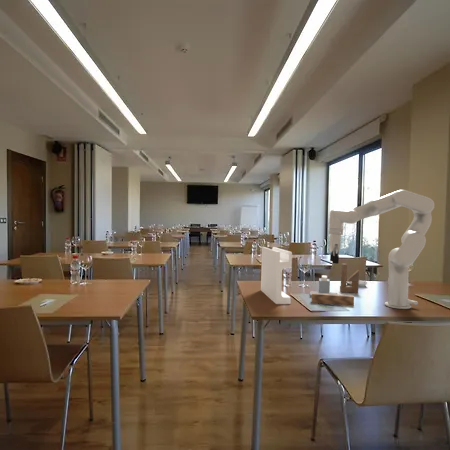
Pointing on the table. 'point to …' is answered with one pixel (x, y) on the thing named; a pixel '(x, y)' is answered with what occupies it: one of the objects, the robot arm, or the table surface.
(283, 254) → the block
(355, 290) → the wooden angled stand
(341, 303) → the walnut beam
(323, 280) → the stand
